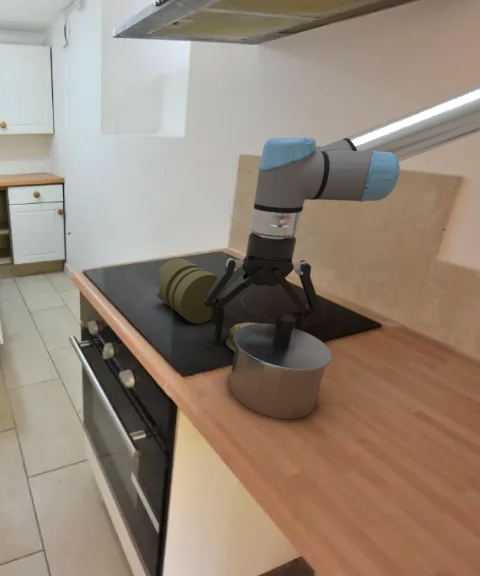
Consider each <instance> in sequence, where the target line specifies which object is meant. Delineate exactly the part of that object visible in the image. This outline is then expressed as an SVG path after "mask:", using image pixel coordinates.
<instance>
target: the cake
mask: <svg viewBox="0 0 480 576" xmlns="http://www.w3.org/2000/svg"><path fill="white" fill-rule="evenodd" d="M252 324H260V323H259V322H256V323H255V322H250V321H249V322H242V323H236V324H234V325H233V326H231V327H230V329H228V338H226V341H225V345H226V347H228V349H230V350H231V351H232V352H235V346H236V345H235V343H234V335H235V333H236V332H237V330H239V329H240V328H242V327H244V326H247V325H252Z"/></svg>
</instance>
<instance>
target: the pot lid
mask: <svg viewBox="0 0 480 576" xmlns="http://www.w3.org/2000/svg"><path fill="white" fill-rule="evenodd" d="M276 317H277V318H276V321H275V323H259V324H252V325H247V326H244V327H242V328H240V329H239V330H237V332H236V333H235V335H234V343H235V345H236V347H237V348H238V350H239V351H240V352H241V353H243V354H244V355H245V356H247V357H248V358H250V359H252V360H253V361H255V362H258V363H260V364H262V365H265V366H268V367H271V368H274V369H278V370H283V371H289V372H313V371H318V370H321V369H323V368H326V367H328V366H329V365H330V363H331V360H332V352H331V350H330V348H329V347H328V346H327V344H325V343H324V342H323V341H322V340H320V339H319V338H317V337H316V336H314V335H312V334H310V333H307V332H305V331H301V330H298V329H294V323H295V318H294V317H293V316H292V315H290V314H286V313H281V314H278V315H277V316H276Z"/></svg>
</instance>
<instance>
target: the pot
mask: <svg viewBox="0 0 480 576" xmlns="http://www.w3.org/2000/svg"><path fill="white" fill-rule="evenodd" d="M233 352H234V351H233ZM232 358H233V359H232V366H231V371H230V378H229V387H230V388H229V389H230V391H231V393H232V395H233V396H234V397H235V399H237V400H238V402H239V403H240V404H242V405H244V406H245V407H246V408H248V409H250V410H251V411H253V412H255V413H257V414H260V415H262V416H267V417H269V418H273V419H280V420H297V419H301V418H304V417H306V416H308V415H309V414H310V413H311V412H313V410H314V408H315V406H316V402H317V398H318V395H319V392H320V387H321V383H322V380H323V376H324V372H325V368H326V367H325V368H323V369H321V370H318V371H313V372H289V371H283V370H278V369H274V368H271V367H268V366H265V365H262V364H260V363H258V362H255V361H253V360H252V359H250V358H248V357H247V356H245V355H244V354H243V353H241V352H240V351H239V350H238V348H237V347H236V346H235V352H234V353H233V357H232Z"/></svg>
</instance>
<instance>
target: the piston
mask: <svg viewBox="0 0 480 576" xmlns="http://www.w3.org/2000/svg"><path fill="white" fill-rule="evenodd" d="M157 273H158V276H159V287H158V293H156V294H155V295H156V297H157V298H158V299H159V300H161V302H162V303H164V304H166V305H167V306H168V307H169V308H171V309H172V310H173V311H175V313H177V314H178V315H180V316H181V317H182V318H183V319H185V320H186V321H188V322H189V323H191V324H203V323H206V322H208V321H210V320H211V315H212V308H211V307H207V306H205V304H204V296H205V295H206V294H207V292H208V291H209V289H210V288H211V286H212V285H213V284H214V282H215V281H216V279H217V278H218V276H217V275H215V274H214V273H212V272H209V271H207V270H206V269H204V268H202V267H200V266H198V265H197V264H195V263H193V262H191V261H189V260H187V259H185V258H182V257H176V258H175V257H174V258H171V259H169V260H167V261H166V262H164V263H163V264H162V265H161V266H160V267H159V268H158V270H157ZM226 289H227V287H226V285H225V286H224V288H223V289H222V290H221V292H220V293H219V295H220V294H222V293H223V292H224V291H225V290H226ZM219 295H218V296H219ZM218 296H217V297H218ZM217 297H216V298H217Z"/></svg>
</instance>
